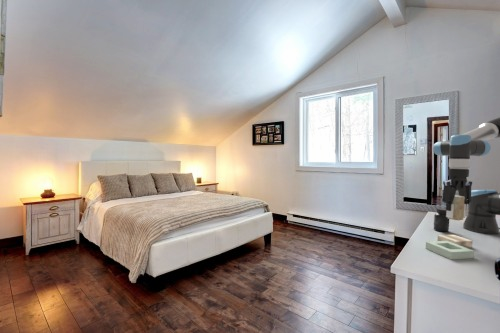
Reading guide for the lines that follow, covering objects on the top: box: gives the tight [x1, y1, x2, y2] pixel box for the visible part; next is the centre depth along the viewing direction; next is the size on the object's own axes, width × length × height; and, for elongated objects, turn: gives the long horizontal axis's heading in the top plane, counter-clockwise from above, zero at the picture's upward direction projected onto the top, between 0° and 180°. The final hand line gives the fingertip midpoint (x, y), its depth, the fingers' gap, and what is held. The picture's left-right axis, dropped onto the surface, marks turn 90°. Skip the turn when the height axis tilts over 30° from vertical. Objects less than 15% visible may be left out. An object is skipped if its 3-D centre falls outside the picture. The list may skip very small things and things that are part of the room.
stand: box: [437, 234, 473, 249], centre depth 119 cm, size 9×9×3 cm
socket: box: [425, 240, 475, 260], centre depth 108 cm, size 11×12×3 cm
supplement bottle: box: [433, 208, 450, 233], centre depth 141 cm, size 7×7×12 cm
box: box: [448, 194, 465, 222], centre depth 118 cm, size 5×4×11 cm
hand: (455, 217), depth 119 cm, fingers closed on box, 6 cm apart
